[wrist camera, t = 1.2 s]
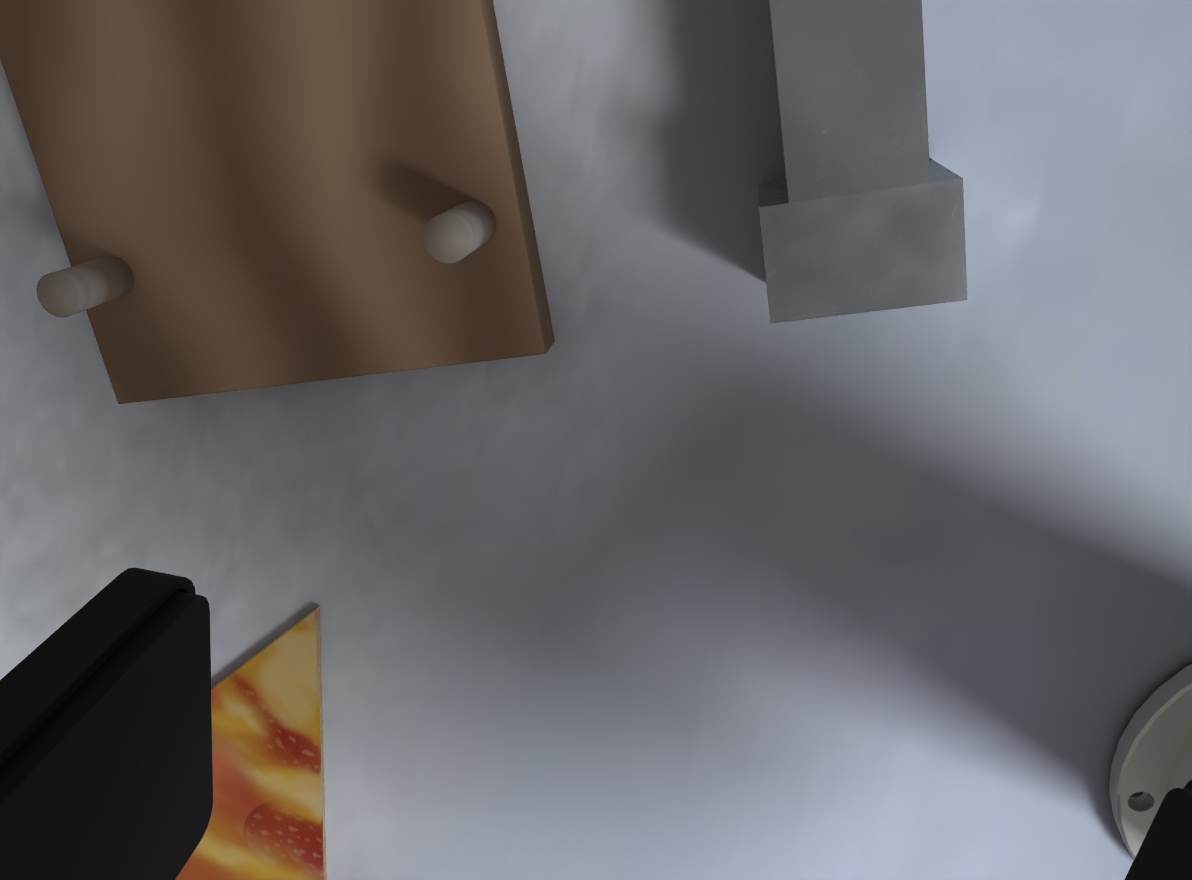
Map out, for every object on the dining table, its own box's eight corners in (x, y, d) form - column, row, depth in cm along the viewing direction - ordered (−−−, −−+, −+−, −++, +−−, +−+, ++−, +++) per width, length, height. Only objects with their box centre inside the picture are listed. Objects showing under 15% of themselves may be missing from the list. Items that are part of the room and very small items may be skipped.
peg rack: (427, -358, 27) (367, -432, 23) (554, 341, 34) (525, 381, 30) (-62, -223, 31) (-191, -267, 26) (142, 390, 37) (64, 433, 33)
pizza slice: (573, 859, 43) (565, 896, 41) (248, 1039, 50) (228, 1077, 49) (324, 599, 40) (303, 625, 38) (19, 831, 48) (-11, 863, 46)
